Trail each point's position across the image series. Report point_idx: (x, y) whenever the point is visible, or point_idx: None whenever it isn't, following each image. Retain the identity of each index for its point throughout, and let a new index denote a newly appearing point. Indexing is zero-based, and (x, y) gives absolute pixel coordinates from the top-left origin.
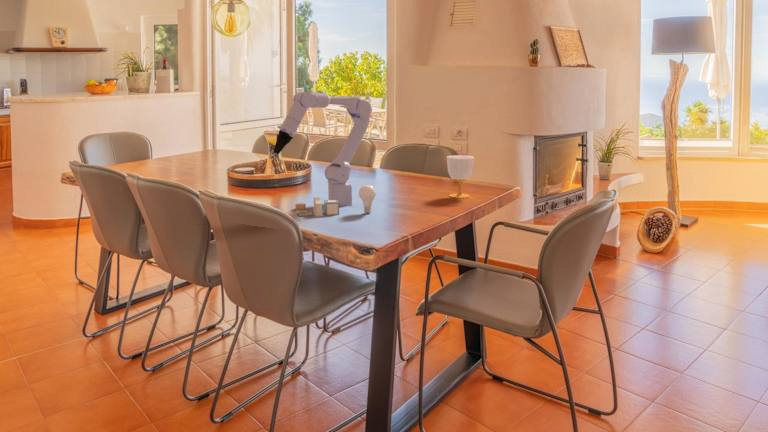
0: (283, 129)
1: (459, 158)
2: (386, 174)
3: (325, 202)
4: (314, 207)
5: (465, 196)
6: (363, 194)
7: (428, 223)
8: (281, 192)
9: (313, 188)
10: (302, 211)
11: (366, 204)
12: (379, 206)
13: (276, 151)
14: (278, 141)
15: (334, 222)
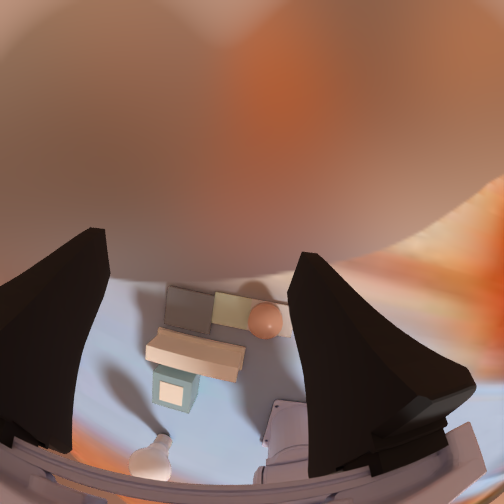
0: (17, 486)
1: None
2: (481, 489)
3: (160, 374)
4: (221, 352)
5: None
6: (132, 454)
7: (80, 455)
8: (499, 309)
9: (491, 387)
10: (232, 314)
11: (149, 445)
12: (230, 477)
13: (299, 284)
14: (30, 277)
15: (98, 343)
